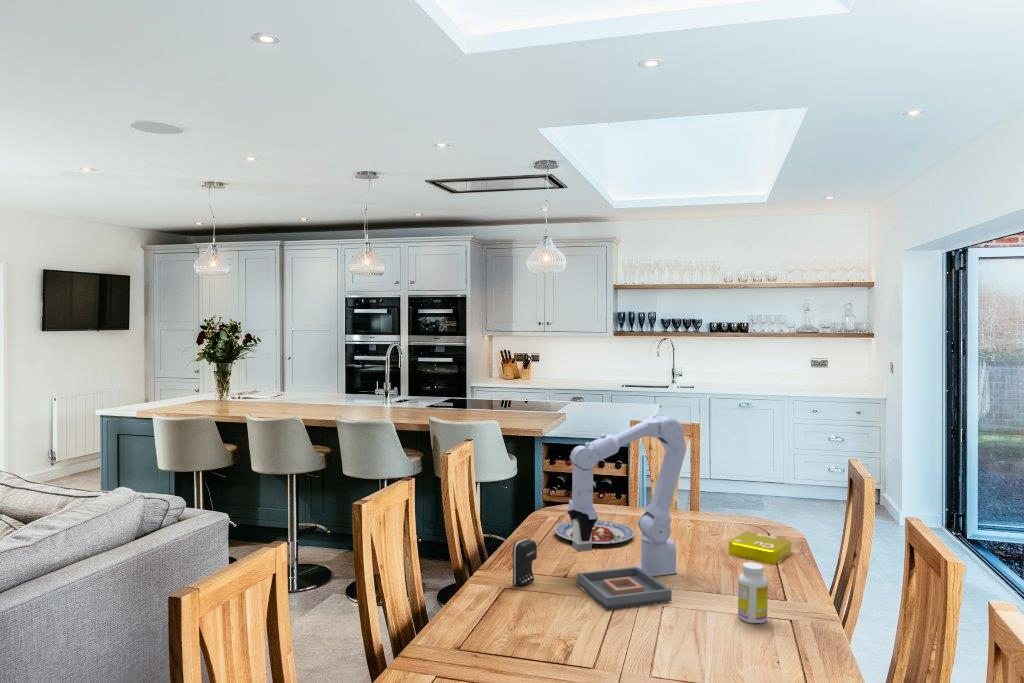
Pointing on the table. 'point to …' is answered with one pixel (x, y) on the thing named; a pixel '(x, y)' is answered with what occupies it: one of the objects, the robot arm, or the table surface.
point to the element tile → (760, 547)
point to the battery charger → (523, 561)
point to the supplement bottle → (752, 594)
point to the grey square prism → (577, 541)
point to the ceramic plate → (599, 532)
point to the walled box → (623, 588)
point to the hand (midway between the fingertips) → (582, 538)
